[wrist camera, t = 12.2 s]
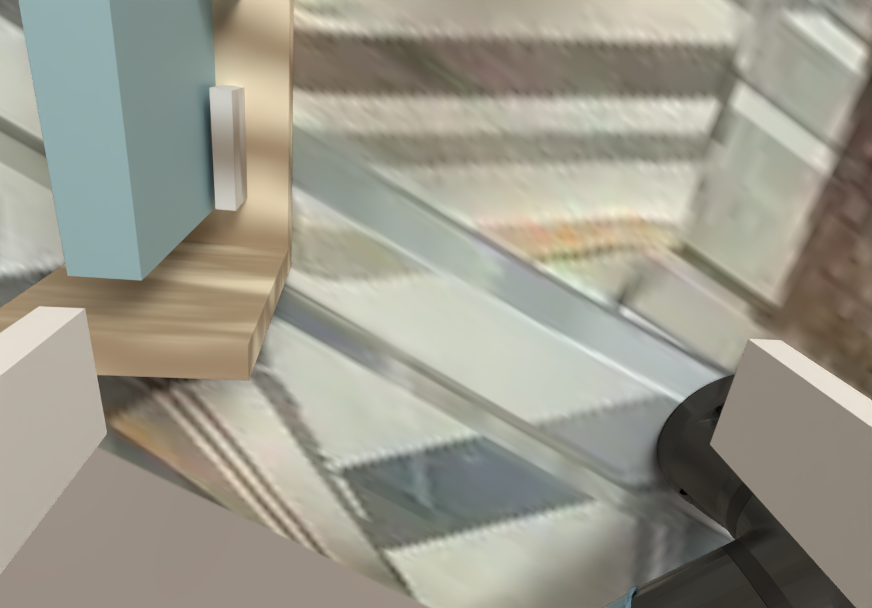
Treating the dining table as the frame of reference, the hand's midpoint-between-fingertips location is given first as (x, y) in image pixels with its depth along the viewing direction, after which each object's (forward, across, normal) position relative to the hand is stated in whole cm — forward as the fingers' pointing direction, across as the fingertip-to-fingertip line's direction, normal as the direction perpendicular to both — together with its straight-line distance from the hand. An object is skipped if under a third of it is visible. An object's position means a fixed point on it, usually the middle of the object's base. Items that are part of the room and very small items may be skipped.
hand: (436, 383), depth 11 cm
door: (+28, +13, -7) cm, 31 cm away
